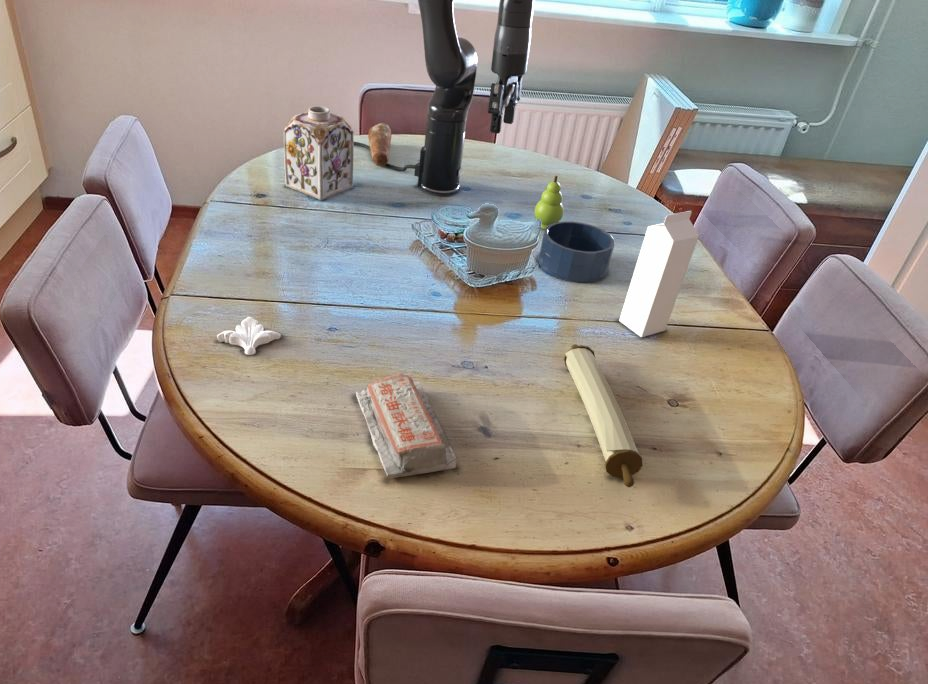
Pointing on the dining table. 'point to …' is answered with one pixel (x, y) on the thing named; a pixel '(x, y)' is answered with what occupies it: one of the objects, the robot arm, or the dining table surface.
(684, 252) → the milk
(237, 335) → the acanthus leaf ornament
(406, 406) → the packaged product
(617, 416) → the rolling pin
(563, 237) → the pot
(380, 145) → the bread
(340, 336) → the dining table surface
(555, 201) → the pear
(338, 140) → the decorative jar
